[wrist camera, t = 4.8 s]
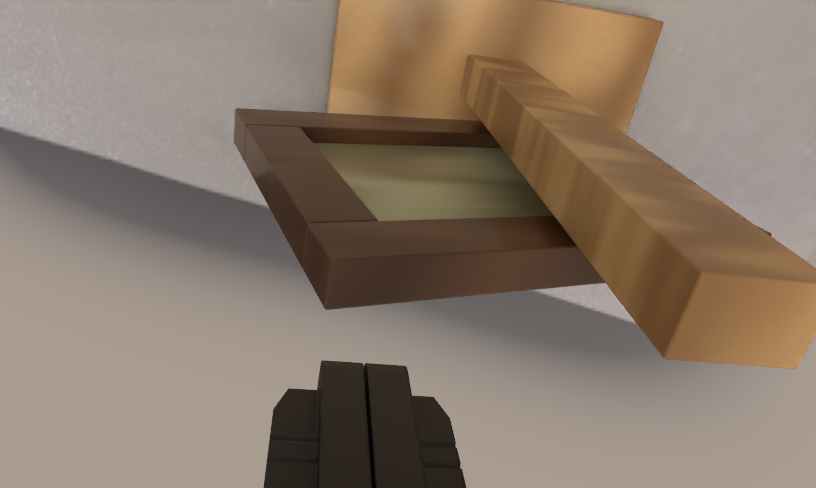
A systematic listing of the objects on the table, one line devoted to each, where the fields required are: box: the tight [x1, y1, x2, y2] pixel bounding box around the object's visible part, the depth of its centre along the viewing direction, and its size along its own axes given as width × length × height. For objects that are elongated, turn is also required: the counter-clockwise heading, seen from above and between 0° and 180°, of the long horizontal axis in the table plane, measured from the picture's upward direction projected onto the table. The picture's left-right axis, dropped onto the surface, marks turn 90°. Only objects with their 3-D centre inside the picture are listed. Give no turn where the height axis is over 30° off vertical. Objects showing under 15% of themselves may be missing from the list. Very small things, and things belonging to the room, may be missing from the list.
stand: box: [326, 0, 816, 369], centre depth 22 cm, size 16×8×23 cm, turn 80°
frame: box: [234, 108, 771, 310], centre depth 23 cm, size 16×1×12 cm, turn 80°
